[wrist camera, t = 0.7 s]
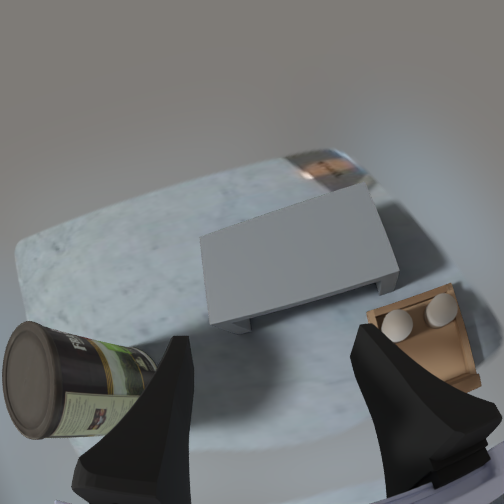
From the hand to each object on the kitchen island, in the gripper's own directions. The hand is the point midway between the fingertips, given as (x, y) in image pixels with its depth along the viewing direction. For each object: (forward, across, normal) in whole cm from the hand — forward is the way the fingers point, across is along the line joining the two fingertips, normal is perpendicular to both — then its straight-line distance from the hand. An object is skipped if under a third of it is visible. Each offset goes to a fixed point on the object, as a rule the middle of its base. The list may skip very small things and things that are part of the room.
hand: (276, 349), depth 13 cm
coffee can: (+12, +14, +20) cm, 27 cm away
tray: (+6, -14, +9) cm, 18 cm away
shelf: (+15, -5, +6) cm, 17 cm away
